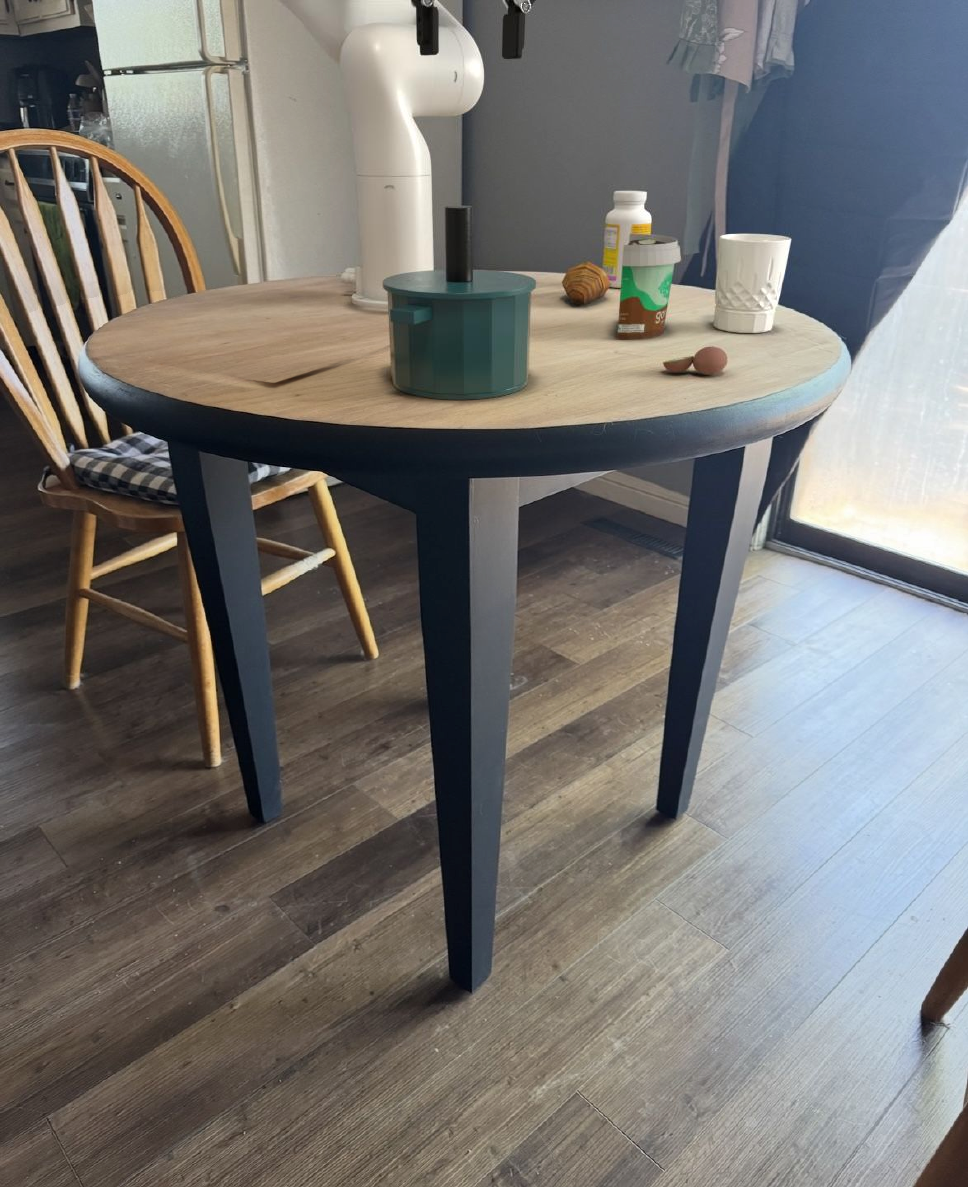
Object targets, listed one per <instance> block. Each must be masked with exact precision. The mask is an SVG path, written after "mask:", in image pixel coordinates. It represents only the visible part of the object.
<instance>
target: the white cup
mask: <svg viewBox="0 0 968 1187" xmlns="http://www.w3.org/2000/svg"><path fill="white" fill-rule="evenodd" d="M791 243H792V238H791V237H790V236H785V235H778V234H777V235H776V234H767V233H761V234H760V233H729V234H721V235H720V236H718V251H717V263H716V273H715V274H716V276H715V290H714V291H715V292H714V293H715V294H714V302H715V303H714V304H715V306H714V315H713V316H714V317H713V327H714V328H716V329H717V330H721V331H725V332H730V333H740V334H758V333H759V334H761V333H767V332H771V330H772V329H773V327H774V326H773V325H774V321H775V314H776V310H777V309H776V308H777V307H778V305H779V301H780V296H781V293H782V287H783V282H784V279H785V275H786V270H787V264H788V260H789V259H788V258H789V255H790V254H789V253H790V248H791Z"/></svg>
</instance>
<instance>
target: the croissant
mask: <svg viewBox="0 0 968 1187" xmlns="http://www.w3.org/2000/svg"><path fill="white" fill-rule="evenodd" d="M610 285H611V283H610V281H609V279H608V277H607V275H606V273H605V271H604V270H603V268H601V267H600V266H597V265H596V264H594V263H592V262H590V261H588V260H587V261H584V262H582V263H580V264H576V265H574V266H571V267H569V268H568V269H567V271H566V273H565V275H564V277H563V279H562V281H561V286H562V287H563V289H564V292H565V293H566V295H567V297H568V300H569V301H570V302H571V303H572V304H575V305H578V306H584V305H588V304H591V303H593V302H596V301H597V300H600V299H602V298H604V296H605V295H606V293H607V291H608V290H609V288H610V287H609V286H610Z"/></svg>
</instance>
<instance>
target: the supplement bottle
mask: <svg viewBox="0 0 968 1187" xmlns="http://www.w3.org/2000/svg"><path fill="white" fill-rule="evenodd" d="M647 195H648V192H647V191H642V190H615V191H614V192H613V199H612V201H613V203H614V207H613V209H612V210H610V211H609V212H608V213H607V214H606V216H605V222H604V224H605V225H604V238H603V239H604V240H603V258H602V269H603V270H604V271H605V273H606V275H607V277H608V279H609V281H610V283H611V285H610V286H609V288H613V289H614V288H616V289H621V277H622V258H623V247H624V245H628V244H629V235H630V234H649V235H652V215H651V213H650V212H649V211H647V210H646V209H645V204H646V201H647Z"/></svg>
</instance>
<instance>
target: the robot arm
mask: <svg viewBox="0 0 968 1187" xmlns="http://www.w3.org/2000/svg"><path fill="white" fill-rule="evenodd" d="M278 1H279V2H280V3H281V4H282V5H283V6H285V8H286V9H287V10H289V11H290V13H292V14H293V15H294V16H295V17H296V18H297V19H298V20H299V21H300V22H301V24H302V25H303V26H304V28H305V29H306V30H307V32H309V34H310V35H311V36H312V38H313V39H314V40H315V41H316V42H317V44H318V46H320V47H321V48H322V50H323V51H324V52H325V53H326V54H327V55H328V56H329V57H330V58H331V59H332V60H333V61H334V62H335V64H337V65H338V66H339V68H340V77H341V81H342V86H343V91H344V95H345V99H346V104H347V110H348V114H349V121H350V125H351V126H350V128H351V136H352V145H353V146H352V147H353V157H354V158H353V159H354V172H355V183H356V184H355V185H356V186H355V187H356V188H355V189H356V203H357V219H358V221H357V223H358V237H359V253H360V266H356V267H346V269H345V270H344V272H343V273H341V276H340V282H342V284H347V285H354V286H355V292H354V293H353V294H352V295H351V297H350V298H351V299H350V300H351V303H352V304H354V305H356V306H360V307H364V308H370V309H371V308H372V309H383V310H385V309H386V310H388V296H387V291H386V290H384V289H383V280H384V279H386V278H388V277H390V276H394V275H398V274H403V273H409V272H418V271H430V270H435V264H434V261H435V260H434V225H433V222H434V220H433V219H434V218H433V184H432V183H433V182H432V159H431V153H430V150H429V146H428V144H427V142H426V140H425V138H424V136H423V133H422V132H421V131H420V129H419V127H418V124H417V123H416V122H415V119H414V118H417V117H455V116H460V115H463V114H465V113H467V112H469V111H471V109H473V107H474V106H475V105H477V103H478V101H479V99H480V97H481V95H482V93H483V89H484V84H485V69H484V62H483V57H482V54H481V52H480V50H479V49H480V48H479V47H478V45H477V43H476V40H475V39H474V37H472V35H471V34H470V32H469V31H468V30H467V29H466V28H465V27H464V26H463V24H461V23H460V22H459V21H458V20H457V18H455V16H453V15H452V14H451V12H449V11H448V10H447V8H445V6H444V5H443V4H442V3H440V1H438V0H278ZM501 1H502V2H503V4H504V6H505V9H506V10H507V13H505V14H503V17H502V32H501V33H502V34H501V36H502V38H501V57H502V59H504V60H520V59H522V56H523V49H524V47H525V38H526V36H525V35H526V34H525V33H526V14H529V12H530V11H531V9H532V6H533V5H534V4H535V2H536V1H537V0H501Z"/></svg>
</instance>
